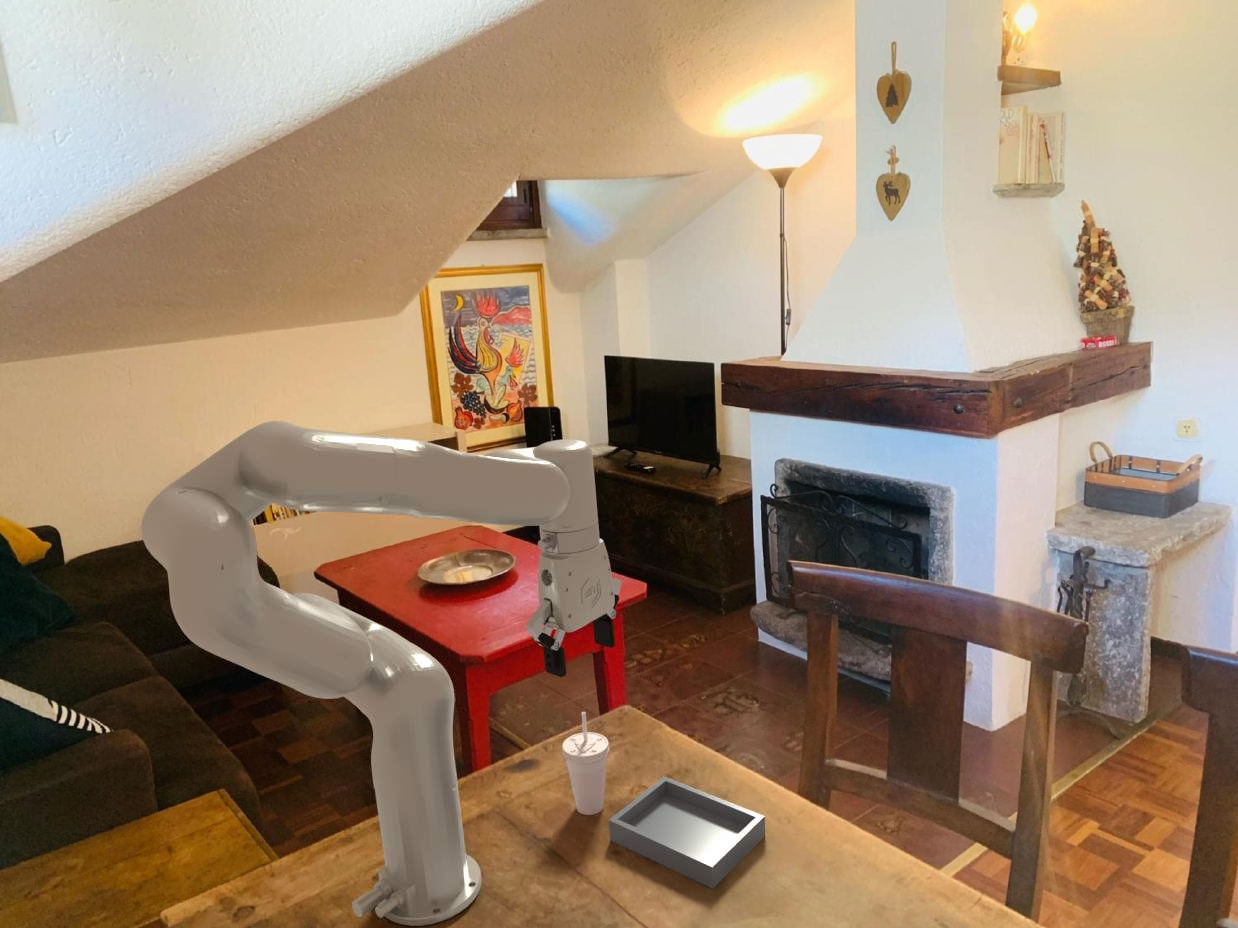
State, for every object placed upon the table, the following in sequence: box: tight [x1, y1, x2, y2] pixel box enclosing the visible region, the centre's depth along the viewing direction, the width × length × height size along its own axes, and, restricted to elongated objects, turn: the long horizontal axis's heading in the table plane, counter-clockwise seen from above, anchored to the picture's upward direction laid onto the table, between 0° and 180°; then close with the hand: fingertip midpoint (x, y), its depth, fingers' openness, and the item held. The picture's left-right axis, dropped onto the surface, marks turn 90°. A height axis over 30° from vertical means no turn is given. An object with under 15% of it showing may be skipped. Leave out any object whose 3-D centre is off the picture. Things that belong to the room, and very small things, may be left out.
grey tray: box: [608, 776, 766, 890], centre depth 120 cm, size 12×16×3 cm
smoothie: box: [561, 711, 610, 816], centre depth 126 cm, size 6×6×14 cm
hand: (581, 659), depth 123 cm, fingers open, 9 cm apart
